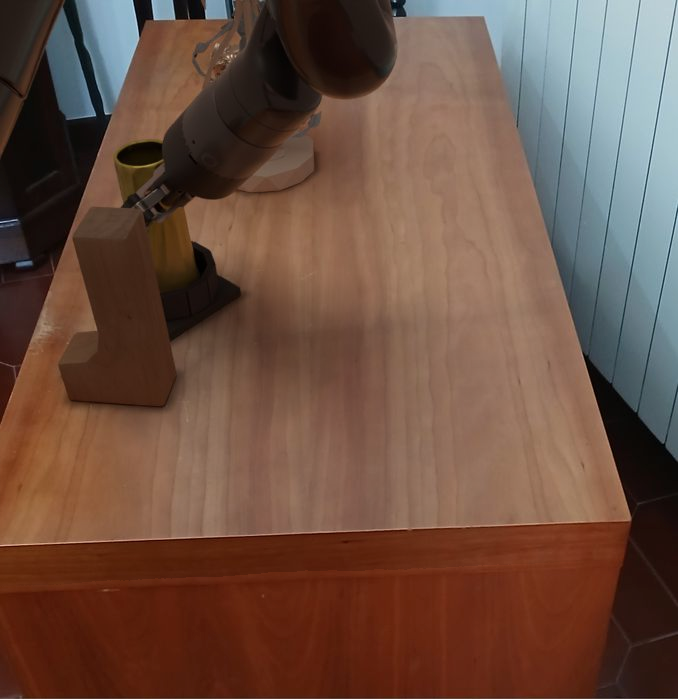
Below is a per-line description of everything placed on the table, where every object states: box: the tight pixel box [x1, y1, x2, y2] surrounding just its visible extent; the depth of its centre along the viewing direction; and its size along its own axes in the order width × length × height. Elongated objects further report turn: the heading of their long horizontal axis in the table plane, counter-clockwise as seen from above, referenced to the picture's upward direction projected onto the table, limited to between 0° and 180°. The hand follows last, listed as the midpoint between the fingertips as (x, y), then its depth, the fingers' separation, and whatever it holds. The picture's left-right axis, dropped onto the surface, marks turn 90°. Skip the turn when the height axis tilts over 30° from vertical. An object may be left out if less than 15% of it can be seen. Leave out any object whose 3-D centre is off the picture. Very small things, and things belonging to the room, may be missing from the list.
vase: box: [113, 138, 200, 293], centre depth 87 cm, size 6×6×14 cm
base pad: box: [160, 240, 242, 342], centre depth 92 cm, size 10×10×4 cm
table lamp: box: [191, 0, 322, 194], centre depth 100 cm, size 22×22×40 cm
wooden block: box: [57, 206, 177, 407], centre depth 78 cm, size 9×4×18 cm, turn 82°
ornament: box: [209, 42, 240, 74], centre depth 132 cm, size 8×7×4 cm
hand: (143, 220), depth 88 cm, fingers closed on vase, 5 cm apart
